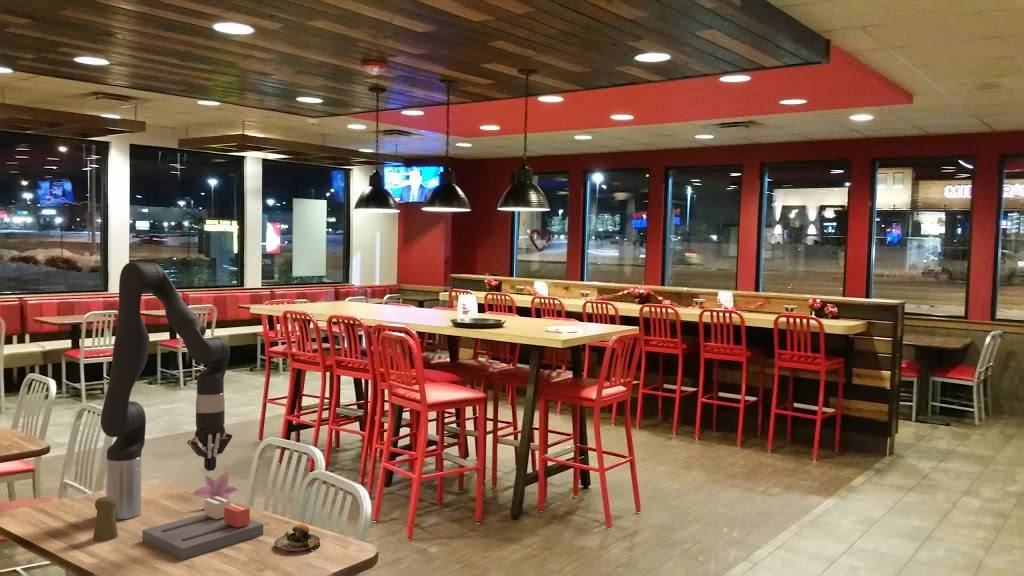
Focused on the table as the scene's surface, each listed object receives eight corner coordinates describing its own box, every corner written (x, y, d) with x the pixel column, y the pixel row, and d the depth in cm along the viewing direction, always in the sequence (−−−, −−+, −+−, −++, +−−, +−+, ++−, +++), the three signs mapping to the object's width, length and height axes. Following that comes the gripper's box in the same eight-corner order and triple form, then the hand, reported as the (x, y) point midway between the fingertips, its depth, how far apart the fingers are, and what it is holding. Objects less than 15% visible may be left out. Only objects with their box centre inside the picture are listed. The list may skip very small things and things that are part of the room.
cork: (107, 542, 212) (107, 501, 211) (87, 540, 213) (87, 499, 212) (122, 534, 218) (123, 495, 217) (103, 532, 219) (103, 493, 218)
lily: (186, 512, 240) (190, 489, 236) (206, 486, 251) (209, 464, 246) (223, 525, 240) (227, 502, 236) (241, 499, 251) (245, 477, 246)
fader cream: (204, 514, 225) (204, 498, 225) (217, 511, 228) (217, 495, 228) (216, 519, 222) (216, 503, 221) (229, 515, 225) (229, 499, 225)
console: (142, 541, 213) (142, 529, 213) (222, 518, 232) (222, 507, 232) (182, 560, 201) (182, 547, 201) (263, 534, 220) (263, 523, 220)
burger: (266, 546, 212) (266, 519, 212) (304, 536, 221) (304, 509, 220) (290, 559, 204) (290, 531, 204) (329, 547, 213) (329, 520, 212)
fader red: (224, 522, 219) (224, 506, 219) (237, 519, 222) (237, 502, 222) (236, 527, 216) (237, 511, 215) (249, 523, 219) (249, 507, 219)
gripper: (224, 404, 228) (223, 463, 229) (180, 410, 218) (180, 472, 218) (239, 407, 224) (238, 468, 224) (195, 414, 213) (195, 477, 214)
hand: (210, 470), depth 221 cm, fingers closed
